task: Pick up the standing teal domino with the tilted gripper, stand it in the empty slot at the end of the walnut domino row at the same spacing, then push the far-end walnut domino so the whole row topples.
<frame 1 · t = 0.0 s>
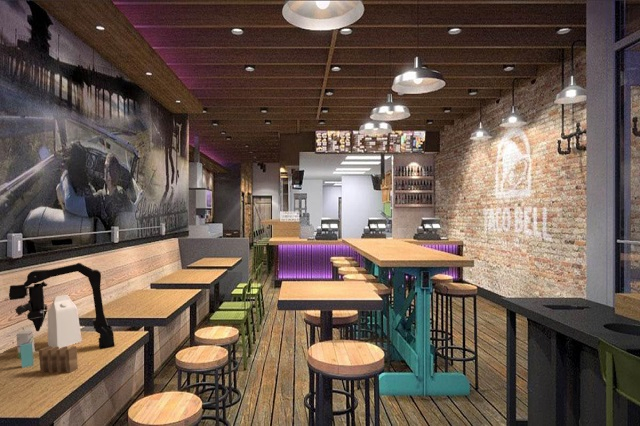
hand: (39, 328, 200), 15 cm above the table, tool pointing down, fingers open, 9 cm apart
domino 2: (63, 370, 182), on the table
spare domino: (27, 366, 192), on the table
milk: (65, 344, 223), on the table
domino 1: (72, 370, 181), on the table
domino 3: (54, 370, 183), on the table
domino 4: (46, 370, 183), on the table
ink box: (26, 355, 209), on the table
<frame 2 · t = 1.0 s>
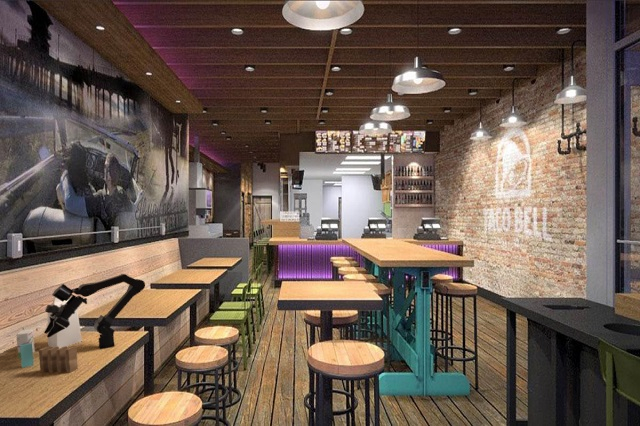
hand: (46, 335, 197), 12 cm above the table, tool tilted 45°, fingers open, 9 cm apart
nothing on the table moved.
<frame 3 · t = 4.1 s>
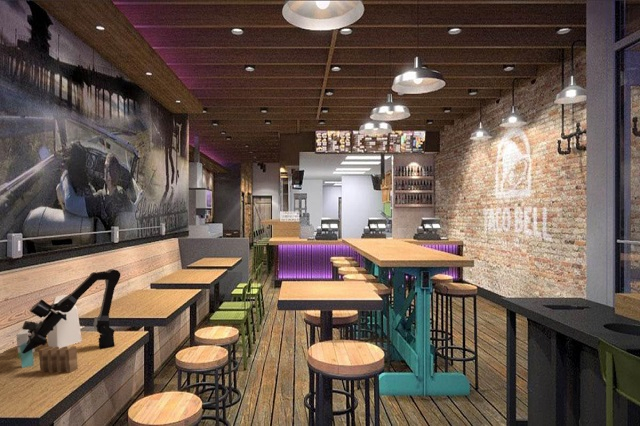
hand: (22, 352, 191), 7 cm above the table, tool tilted 45°, fingers closed on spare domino, 2 cm apart
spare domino: (27, 365, 192), on the table, touching gripper
everything else where it was.
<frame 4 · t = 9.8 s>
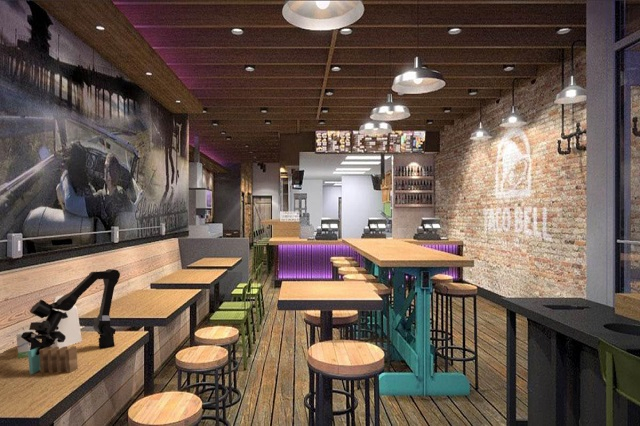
hand: (33, 354, 183), 8 cm above the table, tool tilted 45°, fingers open, 3 cm apart
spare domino: (35, 371, 183), on the table
domino 4: (46, 370, 183), on the table, touching gripper
everything else where it was.
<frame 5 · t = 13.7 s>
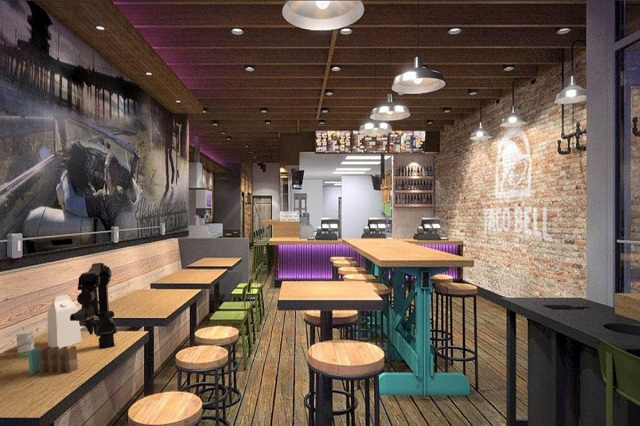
hand: (93, 334, 189), 13 cm above the table, tool pointing down, fingers closed
domino 4: (46, 370, 183), on the table
everything else where it was.
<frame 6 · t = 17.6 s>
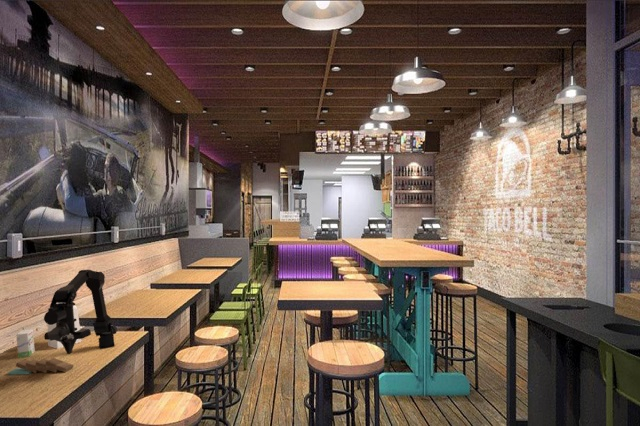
hand: (69, 353, 181), 7 cm above the table, tool pointing down, fingers closed
domino 2: (60, 369, 182), point 1 cm above the table, tilted 70°, touching domino 1
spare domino: (33, 371, 183), on the table, tilted 90°
domino 1: (69, 368, 182), point 1 cm above the table, tilted 70°, touching domino 2
domino 3: (50, 369, 183), point 1 cm above the table, tilted 71°, touching domino 4
domino 4: (40, 369, 183), point 1 cm above the table, tilted 71°, touching domino 3
everything else where it was.
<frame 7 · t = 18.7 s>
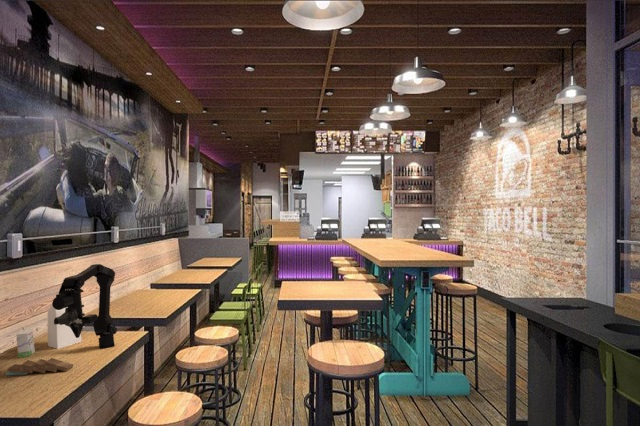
hand: (77, 337, 192), 11 cm above the table, tool pointing down, fingers closed
domino 2: (59, 368, 183), point 1 cm above the table, tilted 70°, touching domino 1, domino 3
domino 1: (69, 368, 183), point 1 cm above the table, tilted 70°, touching domino 2
domino 3: (47, 369, 183), point 1 cm above the table, tilted 69°, touching domino 2
domino 4: (35, 369, 183), point 1 cm above the table, tilted 81°
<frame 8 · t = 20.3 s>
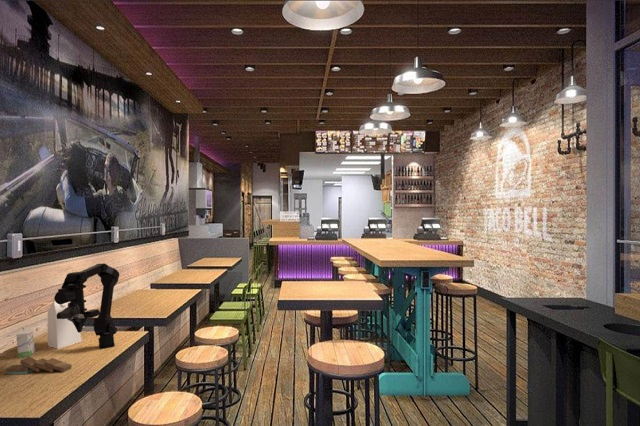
hand: (79, 332, 195), 13 cm above the table, tool pointing down, fingers closed
domino 2: (56, 368, 183), point 1 cm above the table, tilted 72°, touching domino 1
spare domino: (30, 371, 184), on the table, tilted 90°, touching domino 4
domino 3: (43, 368, 184), point 1 cm above the table, tilted 67°, touching domino 4
domino 4: (31, 367, 185), point 2 cm above the table, tilted 90°, touching domino 3, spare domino
at the end: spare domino inside the target area (2.8 cm from its centre), on the table; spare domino tilted 90°; domino 1 tilted 73° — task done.
